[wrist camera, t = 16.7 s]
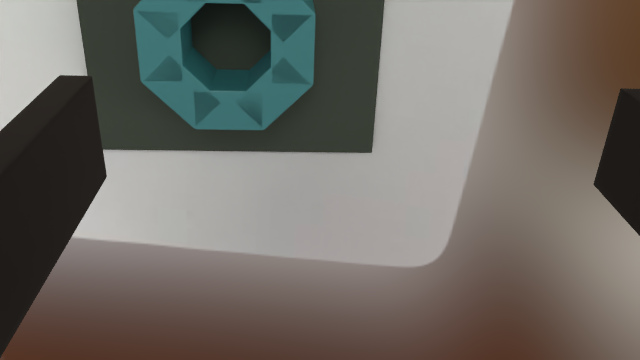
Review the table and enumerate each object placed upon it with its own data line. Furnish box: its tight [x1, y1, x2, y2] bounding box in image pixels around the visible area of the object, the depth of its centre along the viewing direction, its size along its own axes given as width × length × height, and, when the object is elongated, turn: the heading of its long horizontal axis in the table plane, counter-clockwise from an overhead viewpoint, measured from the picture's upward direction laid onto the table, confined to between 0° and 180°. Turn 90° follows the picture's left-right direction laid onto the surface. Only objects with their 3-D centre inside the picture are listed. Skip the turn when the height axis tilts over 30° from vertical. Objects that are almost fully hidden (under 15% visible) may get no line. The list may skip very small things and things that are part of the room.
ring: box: [133, 0, 316, 130], centre depth 35 cm, size 10×10×4 cm
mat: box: [77, 0, 384, 153], centre depth 37 cm, size 18×16×1 cm
